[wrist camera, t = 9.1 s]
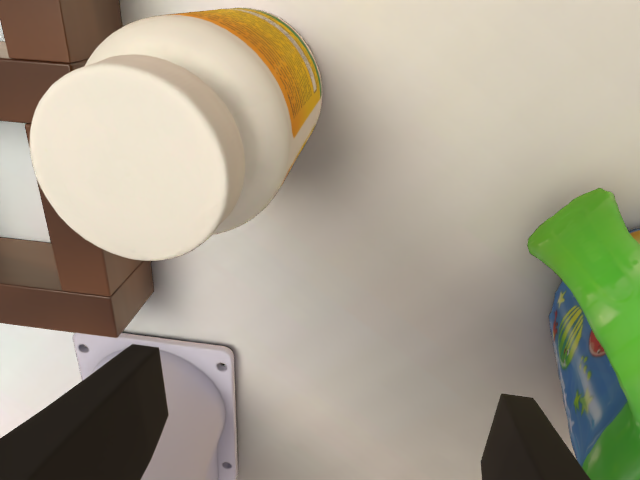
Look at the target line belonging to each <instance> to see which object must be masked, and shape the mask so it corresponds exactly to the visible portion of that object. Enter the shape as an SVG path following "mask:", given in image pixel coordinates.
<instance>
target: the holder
mask: <svg viewBox="0 0 640 480" xmlns="http://www.w3.org/2000/svg"><path fill="white" fill-rule="evenodd" d="M0 20H1V25H2V29H3V34H4V38H5V42H3V41H0V121H9V122H20V123H27V124H25V129H26V133H27V138H28V142H29V147H30V129H31V124H32V119H33V116H34V113H35V110H36V107H37V105H38V103H39V101H40V100H41V98H42V97H43V96H44V94H45V93H46V92H47V90H48V89H49V88H50V87H51V85H52V84H54V83H55V82H56V81H57V80H59V79H60V78H62V77H63V76H64V75H66V74H68V73H70V72H71V71H73V70H75V69H78V68H81V67H84V66H85V64H86V63H87V61H88V59H89V58H90V56H91V55H92V53H93V52H94V51H95V49H96V48H97V47H98V46H99V45H100V44H101V43H102V42H103V41H104V40H105V39H106V38H107V37H108V36H110V35H111V34H112V33H114V32H115V31H117V30H118V29H120V28H122V22H121V14H120V6H119V0H0ZM37 182H38V181H37ZM38 187H39V191H40V196H41V200H42V205H43V209H44V213H45V218H46V222H47V227H48V231H49V236H50V240H51V243H46V242H37V241H28V240H19V239H11V238H2V237H0V323H5V324H12V325H20V326H28V327H35V328H43V329H51V330H58V331H66V332H74V333H81V334H89V335H97V336H104V337H112V338H118V337H119V335H120V334H121V333H122V332H123V330H124V329H125V328H126V326H127V325H128V324H129V323H130V321H131V320H132V319H133V318H134V316H135V315H136V314H137V312H138V311H139V310H140V309H141V307H142V306H143V305H144V303H145V302H146V301H147V300H148V298H149V297H150V296H151V295H152V293H153V292H154V287H153V278H152V270H151V262H150V261H143V260H134V259H129V258H125V257H122V256H119V255H116V254H113V253H110V252H108V251H106V250H104V249H102V248H100V247H97V246H96V245H94V244H93V243H91V242H89V241H87V240H85V239H84V238H83V237H82V236H80V235H79V234H78V233H77V232H75V231H74V230H73V229H72V228H71V227H69V226H68V225H67V224H66V222H65V221H64V220H63V219H62V218H61V217H60V216H59V215H58V214H57V212H56V211H55V209H54V208H53V207H52V205H51V204H50V202H49V201H48V199H47V198H46V196H45V194H44V193H43V191H42V189H41V187H40V185H39V183H38Z"/></svg>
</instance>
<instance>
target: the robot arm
mask: <svg viewBox="0 0 640 480" xmlns="http://www.w3.org/2000/svg"><path fill="white" fill-rule="evenodd" d="M73 342H74V346H75V351H76V355H77V360H78V364H79V369H80V373H81V377H82V382H80V383H79V384H78V385H76V386H75V387H73V388H72V389H71V390H69V391H68V392H67V393H65V394H64V395H62V396H61V397H60V398H58V399H57V400H56V401H54V402H53V403H51V404H50V405H49V406H47V407H46V408H45V409H43V410H42V411H40V412H39V413H37V414H36V415H34V416H33V417H31V418H30V419H28V420H27V421H26V422H24V423H23V424H21V425H20V426H18V427H17V428H15V429H14V430H12V431H11V432H9V433H8V434H6V435H5V436H3V437H2V438H0V480H236V478H237V475H238V460H237V431H236V403H235V374H234V354H233V352H232V351H231V349H229V348H228V347H225V346H219V345H211V344H203V343H195V342H188V341H180V340H172V339H165V338H157V337H149V336H141V335H134V334H126V333H121V334H120V335H119V337H118V338H112V337H104V336H97V335H89V334H81V333H74V335H73ZM85 345H86V346H87V347H86V346H85ZM220 363H224V364H225V365H226V366H224V365H221V364H220ZM481 470H482V480H591V479H590V478H589V476H588V475H587V474H586V472H585V471H584V470H583V468H582V467H581V465H580V464H579V463H578V461H577V460H576V458H575V457H574V456H573V454H572V453H571V451H570V450H569V449H568V447H567V446H566V444H565V443H564V442H563V440H562V439H561V437H560V436H559V434H558V433H557V431H556V430H555V429H554V427H553V426H552V424H551V423H550V421H549V420H548V418H547V417H546V416H545V414H544V413H543V411H542V410H541V408H540V407H539V405H538V404H537V403H536V401H535V400H534V399H533V398H530V397H523V396H515V395H508V394H501V396H500V400H499V403H498V406H497V410H496V413H495V416H494V420H493V423H492V426H491V430H490V433H489V436H488V440H487V443H486V446H485V450H484V453H483V456H482V460H481Z"/></svg>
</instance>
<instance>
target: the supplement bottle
mask: <svg viewBox="0 0 640 480" xmlns="http://www.w3.org/2000/svg"><path fill="white" fill-rule="evenodd" d="M321 105H322V81H321V75H320V72H319V68H318V65H317V63H316V61H315V58H314V56H313V54H312V52H311V50H310V48H309V47H308V45H307V44H306V43H305V41H304V40H303V38H302V37H301V36H300V35H299V34H298V33H297V32H296V31H295V29H293V28H292V27H291V26H290V25H289V24H288V23H286V22H285V21H283V20H282V19H280V18H278V17H276V16H274V15H272V14H270V13H267V12H264V11H261V10H256V9H251V8H232V9H218V10H209V11H200V12H189V13H180V14H170V15H160V16H153V17H148V18H144V19H141V20H137V21H134V22H132V23H130V24H127V25H125V26H123V27H122V28H120V29H118V30H117V31H115V32H114V33H112V34H111V35H110V36H108V37H107V38H106V39H105V40H104V41H103V42H102V43H101V44H100V45H99V46H98V47H97V48H96V49H95V51H94V52H93V53H92V55H91V56H90V58H89V59H88V61H87V63H86V64H85V66H84V67H81V68H78V69H75V70H73V71H71V72H70V73H68V74H66V75H64V76H63V77H62V78H60V79H59V80H57V81H56V82H55V83H54V84H52V85H51V87H50V88H49V89H48V90H47V92H46V93H45V94H44V96H43V97H42V98H41V100H40V101H39V103H38V105H37V107H36V110H35V113H34V116H33V119H32V124H31V129H30V154H31V159H32V165H33V168H34V172H35V175H36V178H37V181H38V183H39V185H40V187H41V189H42V191H43V193H44V194H45V196H46V198H47V199H48V201H49V202H50V204H51V205H52V207H53V208H54V209H55V211H56V212H57V214H58V215H59V216H60V217H61V218H62V219H63V220H64V221H65V222H66V224H67V225H68V226H69V227H71V228H72V229H73V230H74V231H75V232H77V233H78V234H79V235H80V236H82V237H83V238H84V239H85V240H87V241H89V242H91V243H93V244H94V245H96V246H97V247H100V248H102V249H104V250H106V251H108V252H110V253H113V254H116V255H119V256H122V257H125V258H129V259H134V260H143V261H159V260H166V259H171V258H175V257H179V256H181V255H184V254H186V253H188V252H190V251H192V250H194V249H195V248H197V247H198V246H200V245H201V244H202V243H204V242H205V241H206V240H207V239H208V238H209V237H210V236H211V235H213V234H218V233H222V232H226V231H229V230H232V229H234V228H236V227H239V226H241V225H243V224H245V223H246V222H248V221H250V220H251V219H252V218H254V217H255V216H256V215H258V214H259V213H260V212H261V211H262V210H263V209H264V208H265V207H266V206H267V205H268V204H269V203H270V201H271V200H272V199H273V198H274V196H275V195H276V193H277V192H278V190H279V189H280V187H281V185H282V184H283V182H284V181H285V179H286V177H287V175H288V174H289V172H290V170H291V168H292V166H293V165H294V163H295V161H296V159H297V157H298V155H299V154H300V152H301V150H302V149H303V147H304V145H305V144H306V142H307V140H308V139H309V137H310V135H311V134H312V132H313V130H314V128H315V125H316V123H317V121H318V118H319V114H320V110H321Z"/></svg>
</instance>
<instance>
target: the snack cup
mask: <svg viewBox="0 0 640 480" xmlns="http://www.w3.org/2000/svg"><path fill="white" fill-rule="evenodd" d="M527 246H528V249H529V252H530V254H532V255H533V256H535V257H536V258H538V259H539V260H541V261H542V262H543V263H545V264H546V265H547V266H548V267H549V268H551V269H552V270H553V271H554V272H555V273H556V274H557V275H558V276H559V277H560V278H561V279H562V282H561V284H560V286H559V288H558V290H557V291H556V293H555V299H554V303H553V307H552V311H551V313H550V315H549V322H550V330H551V335H552V339H553V348H554V353H555V358H556V363H557V368H558V375H559V379H560V382H561V387H562V393H563V402H564V406H565V410H566V414H567V419H568V427H569V433H570V438H571V442H572V446H573V449H574V452H575V455H576V458H577V461H578V463H579V464H580V465H581V467H582V468H583V470H584V471H585V472H586V474H587V475H588V476H589V478H590V479H591V480H640V229H635V230H632V231H630V232H628V230H627V228H626V226H625V223H624V221H623V219H622V217H621V214H620V212H619V209H618V205H617V203H616V201H615V196H614V194H613V193H611V192H608V191H605V190H603V189H601V188H598V189H596V190H593V191H591V192H588V193H585V194H583V195H581V196H579V197H577V198H575V199H573V200H572V201H571V202H570V203H569V204H568V205H566V206H565V207H564V208H562V209H561V210H560V211H558V212H557V213H556V214H555V215H554V216H552V217H550V218H549V219H547V220H546V221H545V222H544V223H543V224H541V225H540V226H539V227H538V228H537V229H536V231H535V232H534V233H533V234H532V235H531V236H530V237H529V239H528V245H527Z"/></svg>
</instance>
